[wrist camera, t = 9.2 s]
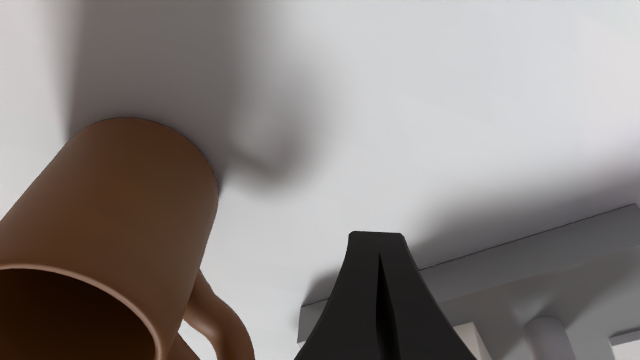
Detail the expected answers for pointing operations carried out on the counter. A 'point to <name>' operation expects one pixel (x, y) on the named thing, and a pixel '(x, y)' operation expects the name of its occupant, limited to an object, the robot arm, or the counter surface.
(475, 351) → the plug
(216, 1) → the counter surface
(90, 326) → the mug
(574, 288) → the grey piece
